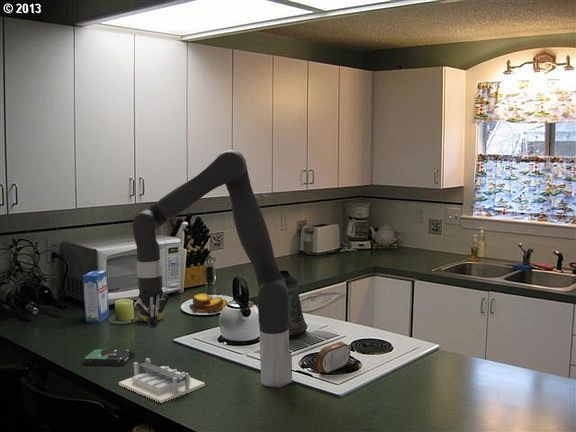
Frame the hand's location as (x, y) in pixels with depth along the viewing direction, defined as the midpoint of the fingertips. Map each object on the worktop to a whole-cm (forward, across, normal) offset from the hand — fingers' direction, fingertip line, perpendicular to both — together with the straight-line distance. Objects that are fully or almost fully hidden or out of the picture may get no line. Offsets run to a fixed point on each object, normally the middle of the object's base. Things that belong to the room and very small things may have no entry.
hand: (152, 327), depth 205 cm
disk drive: (+19, +2, +31) cm, 36 cm away
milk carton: (+18, +27, +78) cm, 85 cm away
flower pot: (+19, +40, +57) cm, 72 cm away
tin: (+19, +45, -37) cm, 61 cm away
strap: (+15, 0, -3) cm, 15 cm away
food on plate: (+19, +67, +51) cm, 86 cm away
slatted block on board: (+18, 0, -3) cm, 19 cm away
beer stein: (+19, +61, -1) cm, 64 cm away
